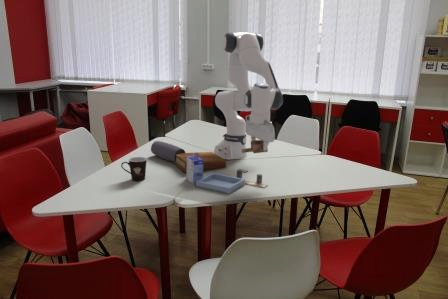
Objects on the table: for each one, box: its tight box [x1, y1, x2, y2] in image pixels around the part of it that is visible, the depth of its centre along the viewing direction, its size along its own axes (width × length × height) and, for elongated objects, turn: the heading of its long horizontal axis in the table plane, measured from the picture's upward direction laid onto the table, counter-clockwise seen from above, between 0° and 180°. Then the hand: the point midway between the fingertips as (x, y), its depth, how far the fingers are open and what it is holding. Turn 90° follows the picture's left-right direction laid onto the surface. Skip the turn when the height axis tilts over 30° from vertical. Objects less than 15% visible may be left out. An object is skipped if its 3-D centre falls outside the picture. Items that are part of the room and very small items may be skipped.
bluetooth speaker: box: [150, 140, 187, 163], centre depth 220 cm, size 23×9×10 cm, turn 45°
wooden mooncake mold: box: [242, 139, 269, 154], centre depth 181 cm, size 12×7×4 cm, turn 97°
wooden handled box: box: [236, 168, 269, 189], centre depth 187 cm, size 18×9×5 cm, turn 59°
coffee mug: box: [120, 156, 148, 182], centre depth 189 cm, size 12×9×10 cm
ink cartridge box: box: [186, 152, 204, 186], centre depth 186 cm, size 10×6×14 cm, turn 26°
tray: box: [195, 172, 246, 195], centre depth 181 cm, size 18×15×3 cm
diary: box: [173, 151, 227, 173], centre depth 208 cm, size 23×19×6 cm
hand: (259, 147), depth 181 cm, fingers closed on wooden mooncake mold, 8 cm apart
